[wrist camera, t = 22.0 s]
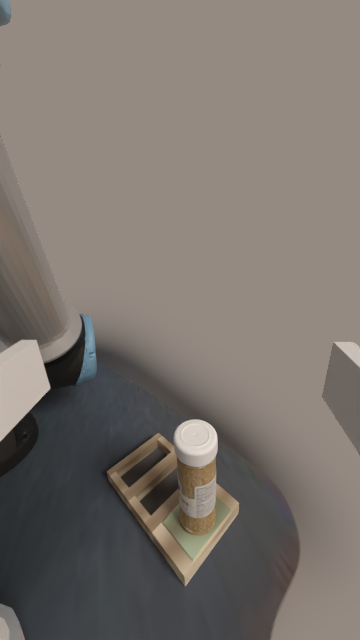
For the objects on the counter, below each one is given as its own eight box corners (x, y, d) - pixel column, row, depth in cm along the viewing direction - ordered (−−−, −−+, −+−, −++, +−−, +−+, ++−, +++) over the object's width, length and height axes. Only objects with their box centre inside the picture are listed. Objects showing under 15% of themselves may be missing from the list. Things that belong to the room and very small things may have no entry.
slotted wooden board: (108, 480, 37) (106, 470, 36) (159, 441, 44) (158, 431, 43) (185, 586, 26) (184, 574, 25) (238, 512, 32) (239, 501, 32)
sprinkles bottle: (174, 506, 31) (166, 425, 26) (205, 491, 33) (204, 412, 28) (188, 546, 27) (183, 460, 22) (223, 526, 29) (226, 442, 24)
